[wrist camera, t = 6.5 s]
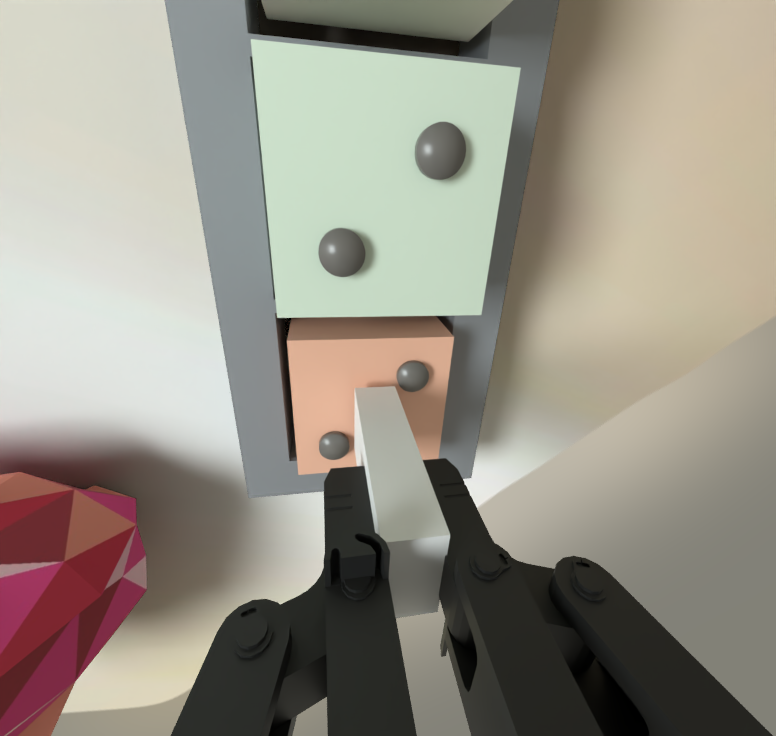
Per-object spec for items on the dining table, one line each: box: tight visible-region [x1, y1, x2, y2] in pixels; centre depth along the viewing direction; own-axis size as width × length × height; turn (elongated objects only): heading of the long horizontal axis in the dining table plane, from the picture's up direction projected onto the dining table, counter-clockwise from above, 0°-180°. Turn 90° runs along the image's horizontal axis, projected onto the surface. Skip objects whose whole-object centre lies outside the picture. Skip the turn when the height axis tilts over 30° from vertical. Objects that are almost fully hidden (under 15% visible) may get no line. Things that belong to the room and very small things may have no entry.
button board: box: [165, 0, 559, 498], centre depth 14 cm, size 11×26×3 cm, turn 178°
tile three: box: [287, 316, 454, 475], centre depth 16 cm, size 6×6×4 cm
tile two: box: [251, 39, 521, 318], centre depth 11 cm, size 6×6×4 cm
